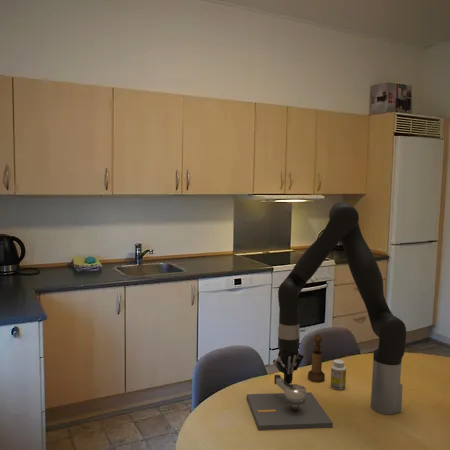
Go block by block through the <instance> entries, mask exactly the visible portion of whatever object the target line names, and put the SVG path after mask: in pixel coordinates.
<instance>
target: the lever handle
mask: <svg viewBox="0 0 450 450" xmlns="http://www.w3.org/2000/svg"><path fill="white" fill-rule="evenodd" d="M273 383H274V385H276V386H278V388H280V389H282V390H283V392H284V393H285V397H284V400H285V401H286V402H287V403H289V404H290V410H291V411H294V412H297V411H299V405H302V404H304V403H305V401H306V392H307V388H306V387H305V386H304V385H301V384H294V383H291V384H289V383H288V382H286V381H285V380H284V377H282V375H280V374H274V381H273Z"/></svg>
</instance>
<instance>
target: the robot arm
mask: <svg viewBox="0 0 450 450" xmlns="http://www.w3.org/2000/svg"><path fill="white" fill-rule="evenodd" d="M328 218H329V220H328V222H327V224H326V226H325V228H324V230H322V232H321V234H320V235H319V236H318V238H317V239H315V241H314V242H313V243H312V244H311V245H310V246H309V247H308V248H307V249H306V250H305V251H304V253H303V254H302V255H301V257H299V259H298V260H297V262H296V263H295V265H294V266H293V269H292V270H291V271H290V273H289V274H288V275H287V276H286V277H285V279H284V280H283V281H282V283H281V284H280V285H279V286H278V291H277V293H278V294H277V295H278V296H277V298H278V299H277V300H278V307H279V313H278V314H279V315H278V317H279V318H278V328H277V329H278V330H277V333H278V334H277V347H278V353H277V358H276V359H273V360H272V364H273V365H274V366H275V367H276V368H277V370H278V371H279V372H281V373H282V374H283V379H284V380H285V381H286V382H288V383H289V384H293V378H294V377H293V373H294V372H295V371H298V368H299V367H300V365H301V363H302V362H303V360H304V356H305V355H303V354H300V351H299V349H300V343H301V342H300V338H301V336H300V332H301V331H300V330H301V329H300V309H299V294H300V293H301V291H302V290H303V289H304V287H305V286H306V284H307V283H308V281H309V280H311V278H312V277H313V276H314V275H315V274H316V272H317V271H318V269H319V268H320V267H321V265H322V264H323V263H324V261H325V260H326V258H328V256H330V253H331V252H332V251H333V250H334V248H335V247H336V246H337V245H338V244H339V243H340V242H341V245H342V247H343V251H344V254H345V258H346V263H347V265H348V268H349V271H350V274H351V276H352V279H353V281H354V284H355V285H356V287H357V290H358V293H359V295H360V297H361V299H362V301H363V303H364V305H365V308H366V312H367V315H368V319H369V322H370V326H371V329H372V332H373V333H374V334H375V336H377V337H378V339H379V340H378V347H377V348H376V349H375V350H374V351H373V354H372V355H373V356H372V375H371V377H372V379H371V393H370V408H371V409H372V410H373V411H374V412H376V413H379V414H382V415H389V416H390V415H396V414H398V413H401V412H402V405H403V404H402V403H403V387H404V386H403V384H402V383H401V375H402V360H403V357H404V355H405V352H406V351H405V350H406V344H407V343H406V342H407V327H406V323H404V321H403V320H402V319H400V318H399V317H397V316H396V315H394V314H393V312H392V311H391V309H390V307H389V305H388V303H387V301H386V298H385V292H384V281H383V280H384V279H383V276H382V275H383V274H382V273H381V272H382V271H381V269H380V268H379V264H378V262H377V260H376V258H375V256H374V254H373V252H372V251H371V248H370V247H369V245H368V243H367V241H366V240H365V238H364V236H363V234H362V231H361V228H360V224H359V218H360V216H359V211H358V210H357V209H356V208H355V206H354V205H352V204H351V203H349V202H345V201H338V202H337V203H334V204H333V205H332V207H331V208H330V211H329V214H328Z"/></svg>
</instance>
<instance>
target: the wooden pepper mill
mask: <svg viewBox="0 0 450 450" xmlns="http://www.w3.org/2000/svg"><path fill="white" fill-rule="evenodd" d="M313 340H314V342H315V345H314V349H315V350H312V356H311V369H310V370H309V371H308V372H307V379H308V380H309V381H310V382H313V383H323V382H324V381H325V377H326V376H325V375H326V374H325V373H324V372H323V371H322V365H323V351H322V350H321V346H320V344H321V342H322V341H323V337H322V336H321V335H320V334H316V335H314V337H313Z"/></svg>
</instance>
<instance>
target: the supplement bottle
mask: <svg viewBox="0 0 450 450" xmlns="http://www.w3.org/2000/svg"><path fill="white" fill-rule="evenodd" d="M330 370H331V371H330V372H331V373H330V387H331V388H332V389H333V390H337V391H341V390H345V389H346V384H347V383H346V382H347V381H346V378H347V367H346V366H345V361H343V360H342V359H334V360H333V365H331V369H330Z"/></svg>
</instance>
